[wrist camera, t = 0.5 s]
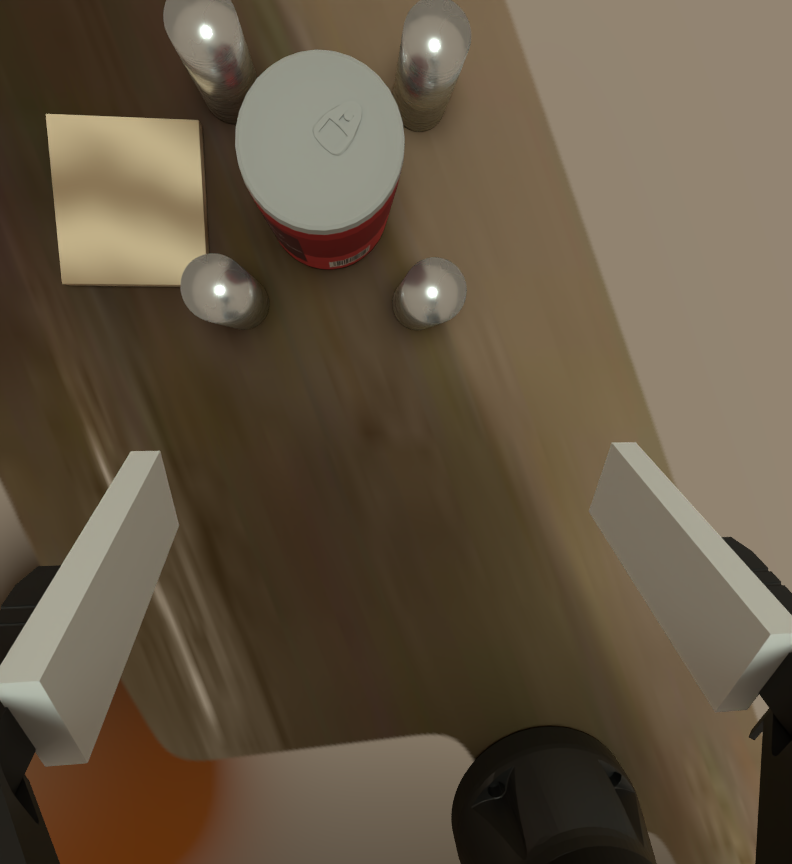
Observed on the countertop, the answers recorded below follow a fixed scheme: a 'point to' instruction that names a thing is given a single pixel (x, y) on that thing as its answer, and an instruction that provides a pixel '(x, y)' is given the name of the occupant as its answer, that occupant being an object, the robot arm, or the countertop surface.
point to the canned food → (321, 155)
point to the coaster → (127, 198)
